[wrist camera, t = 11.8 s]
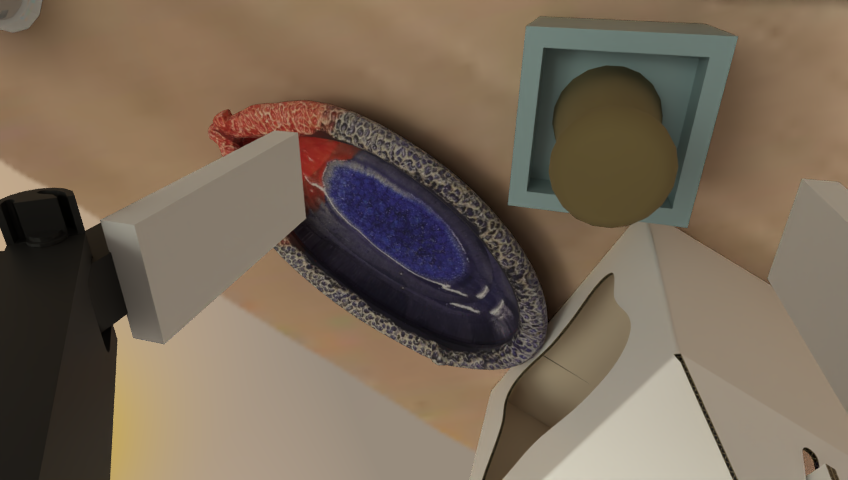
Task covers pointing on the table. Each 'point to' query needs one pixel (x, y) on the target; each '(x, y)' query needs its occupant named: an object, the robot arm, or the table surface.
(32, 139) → the table surface
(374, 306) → the dish
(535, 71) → the open box
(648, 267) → the gable box
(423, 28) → the table surface
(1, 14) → the french press
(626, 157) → the olive brown hourglass shape
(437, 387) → the table surface
